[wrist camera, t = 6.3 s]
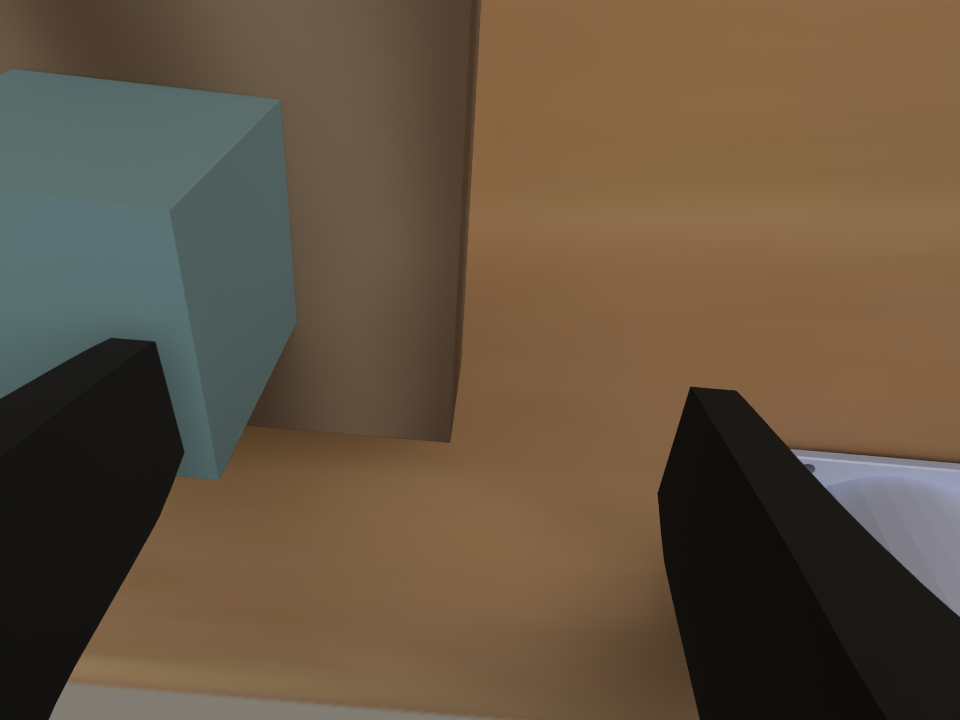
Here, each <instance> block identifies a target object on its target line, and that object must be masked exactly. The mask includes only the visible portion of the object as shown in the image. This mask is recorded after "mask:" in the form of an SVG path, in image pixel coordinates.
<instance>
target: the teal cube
mask: <svg viewBox="0 0 960 720" xmlns="http://www.w3.org/2000/svg"><path fill="white" fill-rule="evenodd" d="M296 323H297V315H296V302H295V288H294V275H293V261H292V248H291V234H290V221H289V207H288V194H287V180H286V167H285V153H284V140H283V126H282V113H281V99H272V98H263V97H254V96H246V95H237V94H228V93H219V92H211V91H202V90H193V89H184V88H175V87H167V86H158V85H149V84H140V83H132V82H123V81H114V80H105V79H96V78H88V77H79V76H70V75H61V74H53V73H44V72H35V71H26V70H17V69H12V70H10V71H8V72H5V73H3V74H0V399H1V398H2V397H4V396H6V395H8V394H9V393H11V392H13V391H15V390H16V389H18V388H20V387H22V386H23V385H25V384H27V383H29V382H30V381H32V380H34V379H35V378H37V377H39V376H41V375H42V374H44V373H46V372H48V371H49V370H51V369H53V368H55V367H56V366H58V365H60V364H62V363H63V362H65V361H67V360H69V359H71V358H72V357H74V356H76V355H78V354H80V353H82V352H83V351H85V350H87V349H89V348H91V347H93V346H95V345H97V344H99V343H101V342H103V341H105V340H107V339H109V338H121V339H133V340H144V341H155V342H156V345H157V349H158V353H159V357H160V361H161V364H162V368H163V372H164V376H165V380H166V383H167V387H168V391H169V395H170V399H171V402H172V406H173V410H174V414H175V418H176V421H177V425H178V429H179V433H180V437H181V440H182V444H183V448H184V452H185V453H184V455H183V458H182V461H181V463H180V466H179V469H178V471H177V474H176V476H185V477H194V478H203V479H212V480H219V479H220V477H221V475H222V473H223V471H224V469H225V467H226V465H227V463H228V461H229V459H230V457H231V455H232V453H233V451H234V449H235V447H236V445H237V443H238V441H239V439H240V436H241V434H242V432H243V430H244V428H245V426H246V424H247V422H248V420H249V418H250V416H251V414H252V412H253V410H254V408H255V406H256V404H257V402H258V400H259V398H260V396H261V394H262V392H263V390H264V388H265V386H266V384H267V382H268V379H269V377H270V375H271V373H272V371H273V369H274V367H275V365H276V363H277V361H278V359H279V357H280V355H281V353H282V351H283V349H284V347H285V345H286V343H287V341H288V339H289V337H290V335H291V333H292V331H293V329H294V327H295V325H296Z"/></svg>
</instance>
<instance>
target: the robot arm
mask: <svg viewBox="0 0 960 720" xmlns="http://www.w3.org/2000/svg"><path fill="white" fill-rule="evenodd" d="M184 453H185V452H184V448H183V444H182V440H181V437H180V433H179V429H178V425H177V421H176V418H175V414H174V410H173V406H172V402H171V399H170V395H169V391H168V387H167V383H166V380H165V376H164V372H163V368H162V364H161V361H160V357H159V353H158V349H157V345H156V342H155V341H144V340H133V339H121V338H109V339H107V340H105V341H103V342H101V343H99V344H97V345H95V346H93V347H91V348H89V349H87V350H85V351H83V352H82V353H80V354H78V355H76V356H74V357H72V358H71V359H69V360H67V361H65V362H63V363H62V364H60V365H58V366H56V367H55V368H53V369H51V370H49V371H48V372H46V373H44V374H42V375H41V376H39V377H37V378H35V379H34V380H32V381H30V382H29V383H27V384H25V385H23V386H22V387H20V388H18V389H16V390H15V391H13V392H11V393H9V394H8V395H6V396H4V397H2V398H1V399H0V720H49V718H50V715H51V713H52V711H53V709H54V706H55V704H56V702H57V700H58V698H59V696H60V694H61V692H62V690H63V688H64V687H65V685H66V683H67V681H68V679H69V677H70V675H71V673H72V671H73V669H74V667H75V665H76V664H77V662H78V660H79V658H80V657H81V655H82V653H83V651H84V650H85V648H86V646H87V644H88V643H89V641H90V639H91V637H92V636H93V634H94V632H95V630H96V629H97V627H98V625H99V623H100V621H101V620H102V618H103V616H104V614H105V613H106V611H107V609H108V607H109V606H110V604H111V602H112V600H113V599H114V597H115V595H116V593H117V592H118V590H119V588H120V586H121V585H122V583H123V581H124V579H125V578H126V576H127V574H128V572H129V571H130V569H131V567H132V565H133V564H134V562H135V560H136V558H137V556H138V555H139V553H140V551H141V549H142V547H143V546H144V544H145V542H146V540H147V538H148V537H149V535H150V533H151V531H152V529H153V527H154V526H155V524H156V522H157V520H158V518H159V516H160V514H161V511H162V509H163V507H164V504H165V502H166V499H167V497H168V495H169V492H170V490H171V487H172V485H173V482H174V479H175V477H176V474H177V471H178V469H179V466H180V463H181V461H182V458H183V455H184ZM804 464H808V465H806V466H805V465H804ZM658 503H659V515H660V527H661V537H662V546H663V555H664V563H665V568H666V572H667V577H668V582H669V586H670V591H671V595H672V600H673V604H674V609H675V613H676V618H677V622H678V626H679V631H680V635H681V639H682V644H683V648H684V653H685V657H686V661H687V666H688V670H689V674H690V679H691V683H692V688H693V692H694V696H695V701H696V705H697V709H698V714H699V718H700V720H960V464H958V463H947V462H935V461H923V460H912V459H900V458H888V457H877V456H865V455H854V454H842V453H830V452H819V451H807V450H795V449H789V448H788V447H787V446H786V444H785V443H784V442H783V441H782V440H781V439H780V438H779V437H778V436H777V434H776V433H775V432H774V431H773V430H772V429H771V428H770V427H769V426H768V424H767V423H766V422H765V421H764V420H763V419H762V418H761V417H760V416H759V414H758V413H757V412H756V411H755V410H754V409H753V408H752V407H751V406H750V405H749V404H748V402H747V401H746V400H745V399H744V398H743V397H742V396H741V395H740V394H739V393H738V392H737V391H734V390H722V389H710V388H698V387H690V390H689V393H688V396H687V399H686V403H685V406H684V409H683V412H682V416H681V419H680V422H679V425H678V429H677V432H676V435H675V439H674V442H673V445H672V448H671V452H670V455H669V458H668V461H667V465H666V468H665V471H664V474H663V478H662V481H661V484H660V487H659V491H658Z"/></svg>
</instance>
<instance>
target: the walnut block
mask: <svg viewBox="0 0 960 720" xmlns="http://www.w3.org/2000/svg"><path fill="white" fill-rule="evenodd" d="M480 10H481V0H0V74H3V73H5V72H8V71H10V70H12V69H17V70H26V71H35V72H44V73H53V74H61V75H70V76H79V77H88V78H96V79H105V80H114V81H123V82H132V83H140V84H149V85H158V86H167V87H175V88H184V89H193V90H202V91H211V92H219V93H228V94H237V95H246V96H254V97H263V98H272V99H281V113H282V126H283V140H284V153H285V167H286V180H287V194H288V207H289V221H290V234H291V248H292V261H293V275H294V288H295V302H296V315H297V323H296V325H295V327H294V329H293V331H292V333H291V335H290V337H289V339H288V341H287V343H286V345H285V347H284V349H283V351H282V353H281V355H280V357H279V359H278V361H277V363H276V365H275V367H274V369H273V371H272V373H271V375H270V377H269V379H268V382H267V384H266V386H265V388H264V390H263V392H262V394H261V396H260V398H259V400H258V402H257V404H256V406H255V408H254V410H253V412H252V414H251V416H250V418H249V420H248V422H247V424H246V425H248V426H259V427H271V428H283V429H295V430H306V431H318V432H330V433H342V434H353V435H365V436H377V437H388V438H400V439H412V440H424V441H435V442H447V443H450V440H451V432H452V425H453V418H454V410H455V403H456V396H457V389H458V381H459V374H460V367H461V355H462V337H463V319H464V301H465V283H466V264H467V246H468V228H469V210H470V192H471V174H472V156H473V137H474V119H475V101H476V83H477V65H478V47H479V29H480Z"/></svg>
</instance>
